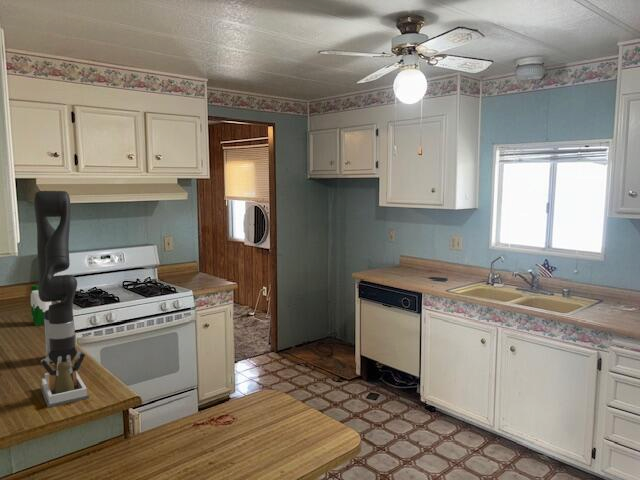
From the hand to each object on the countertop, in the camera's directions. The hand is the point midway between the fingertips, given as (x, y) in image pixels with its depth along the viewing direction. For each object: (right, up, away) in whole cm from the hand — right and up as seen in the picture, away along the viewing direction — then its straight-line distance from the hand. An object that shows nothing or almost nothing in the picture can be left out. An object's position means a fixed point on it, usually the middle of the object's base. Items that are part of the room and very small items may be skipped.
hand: (64, 384), depth 162 cm
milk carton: (-56, +6, +84) cm, 101 cm away
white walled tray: (-1, -4, +2) cm, 4 cm away
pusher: (-3, -2, +4) cm, 5 cm away
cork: (0, -3, 0) cm, 3 cm away
